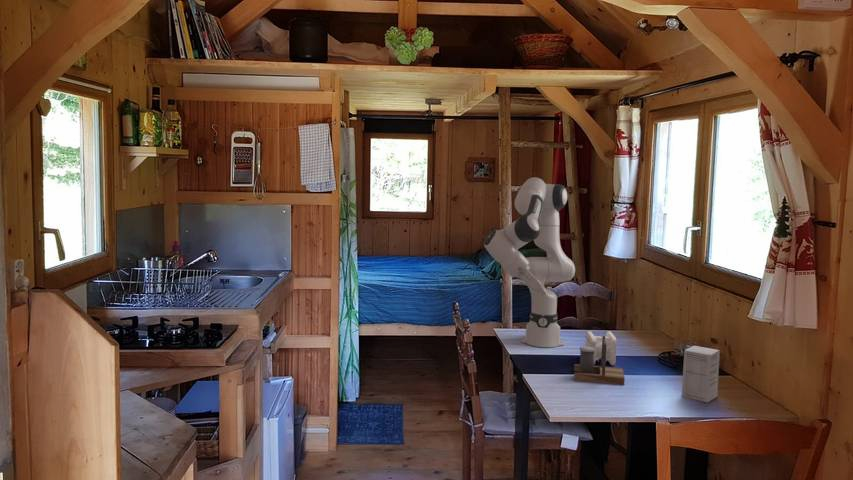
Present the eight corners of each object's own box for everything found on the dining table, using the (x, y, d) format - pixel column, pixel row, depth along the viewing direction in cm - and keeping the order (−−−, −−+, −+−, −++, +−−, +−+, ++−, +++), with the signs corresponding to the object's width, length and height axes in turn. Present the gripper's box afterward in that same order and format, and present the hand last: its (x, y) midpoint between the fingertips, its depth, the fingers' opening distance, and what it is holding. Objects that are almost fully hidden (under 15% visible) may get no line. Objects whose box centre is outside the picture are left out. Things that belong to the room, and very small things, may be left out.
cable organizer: (616, 368, 273) (617, 339, 272) (589, 366, 274) (590, 338, 273) (608, 357, 288) (610, 330, 287) (583, 356, 289) (584, 329, 288)
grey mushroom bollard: (578, 373, 265) (579, 346, 264) (593, 374, 264) (595, 347, 263) (578, 377, 260) (579, 350, 259) (594, 378, 258) (595, 351, 257)
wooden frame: (574, 370, 269) (575, 333, 267) (621, 374, 265) (624, 337, 263) (574, 380, 256) (575, 342, 254) (624, 384, 252) (626, 346, 251)
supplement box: (717, 396, 241) (721, 350, 240) (708, 403, 235) (711, 355, 233) (690, 390, 248) (693, 344, 246) (680, 396, 241) (683, 349, 239)
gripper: (528, 264, 249) (554, 291, 251) (519, 257, 270) (542, 282, 271) (515, 276, 250) (541, 303, 251) (507, 268, 270) (531, 293, 271)
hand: (542, 292), depth 261 cm, fingers open, 8 cm apart
